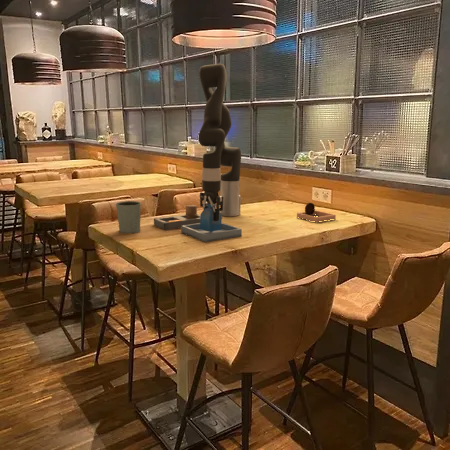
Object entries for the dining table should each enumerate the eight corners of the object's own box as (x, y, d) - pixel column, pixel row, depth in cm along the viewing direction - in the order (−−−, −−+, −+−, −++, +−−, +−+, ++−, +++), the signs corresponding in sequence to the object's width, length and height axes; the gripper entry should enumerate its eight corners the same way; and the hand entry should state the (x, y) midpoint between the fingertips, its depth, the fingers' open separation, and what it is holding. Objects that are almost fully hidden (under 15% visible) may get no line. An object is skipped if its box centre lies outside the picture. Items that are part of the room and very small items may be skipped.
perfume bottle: (211, 226, 195) (211, 198, 192) (221, 229, 191) (222, 201, 188) (200, 229, 191) (200, 200, 188) (210, 231, 187) (210, 202, 184)
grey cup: (141, 233, 191) (140, 205, 188) (116, 234, 189) (115, 205, 186) (141, 228, 200) (140, 200, 198) (117, 228, 199) (116, 201, 196)
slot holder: (194, 219, 218) (194, 212, 217) (207, 223, 210) (207, 216, 209) (153, 225, 206) (153, 217, 205) (165, 229, 197) (165, 222, 197)
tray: (216, 227, 203) (216, 220, 203) (241, 236, 189) (241, 228, 189) (181, 232, 193) (181, 225, 193) (204, 242, 179) (204, 234, 178)
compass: (315, 220, 221) (316, 205, 219) (303, 217, 227) (304, 202, 226) (327, 218, 225) (328, 204, 224) (315, 215, 232) (316, 201, 230)
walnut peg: (193, 221, 214) (193, 204, 212) (198, 223, 210) (198, 206, 209) (183, 222, 211) (183, 205, 210) (189, 224, 207) (189, 207, 206)
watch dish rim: (315, 215, 233) (315, 210, 232) (335, 219, 222) (335, 214, 222) (296, 218, 225) (297, 213, 225) (316, 223, 215) (316, 217, 214)
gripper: (229, 180, 183) (228, 221, 186) (209, 176, 194) (209, 215, 198) (213, 181, 178) (213, 223, 182) (194, 177, 190) (194, 217, 193)
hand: (211, 219), depth 190 cm, fingers closed on perfume bottle, 6 cm apart
